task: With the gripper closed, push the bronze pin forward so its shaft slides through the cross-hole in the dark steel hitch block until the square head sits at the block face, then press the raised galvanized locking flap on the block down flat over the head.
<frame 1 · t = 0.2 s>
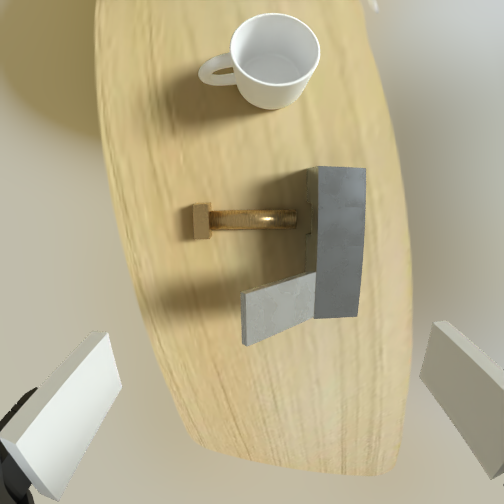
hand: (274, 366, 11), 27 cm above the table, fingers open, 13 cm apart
lynch pin: (204, 219, 37), on the table
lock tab: (281, 306, 29), point 10 cm above the table, hinge at 40.0°
hitch block: (326, 234, 37), on the table
mug: (255, 82, 33), on the table
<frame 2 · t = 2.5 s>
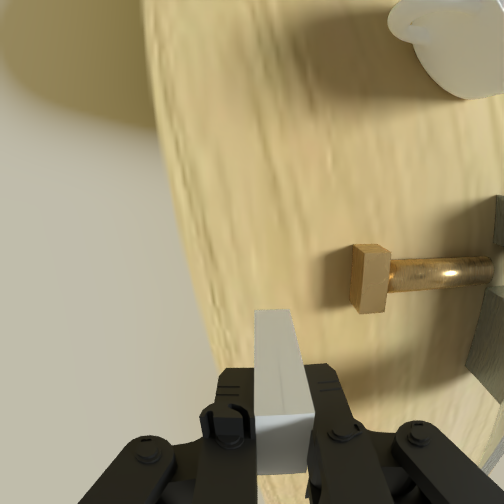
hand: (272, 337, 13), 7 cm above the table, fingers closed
lynch pin: (363, 272, 20), on the table
hitch block: (502, 285, 20), on the table
mug: (432, 51, 16), on the table
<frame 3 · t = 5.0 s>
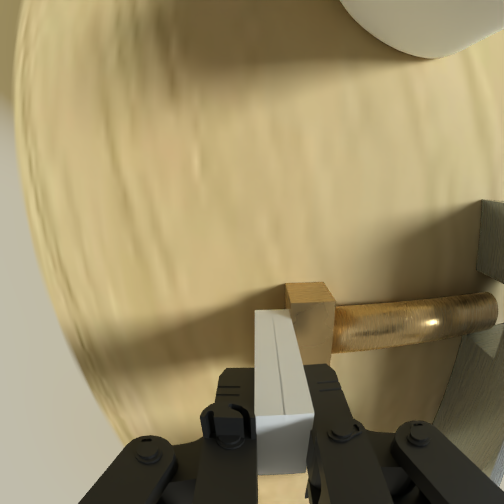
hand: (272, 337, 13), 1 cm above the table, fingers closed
lynch pin: (303, 321, 15), on the table, touching gripper
hitch block: (489, 326, 15), on the table
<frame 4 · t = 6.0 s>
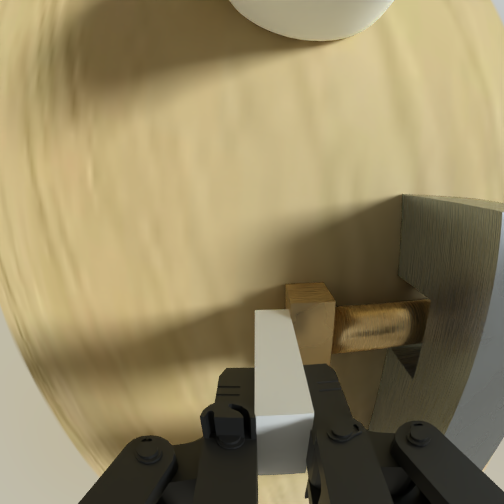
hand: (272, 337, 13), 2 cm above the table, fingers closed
lynch pin: (303, 321, 15), on the table, touching gripper
hitch block: (425, 339, 15), on the table
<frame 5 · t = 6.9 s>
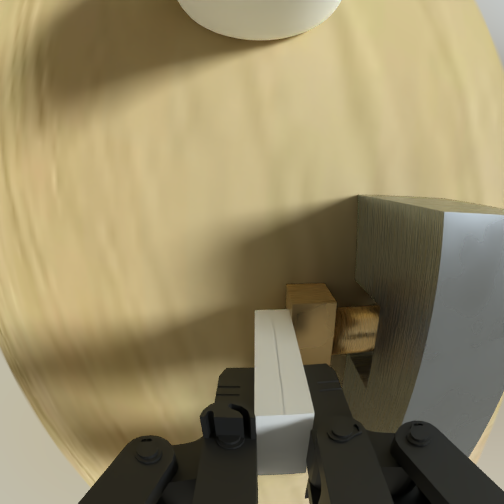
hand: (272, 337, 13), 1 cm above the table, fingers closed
lynch pin: (303, 322, 15), on the table, touching gripper
hitch block: (389, 346, 15), on the table
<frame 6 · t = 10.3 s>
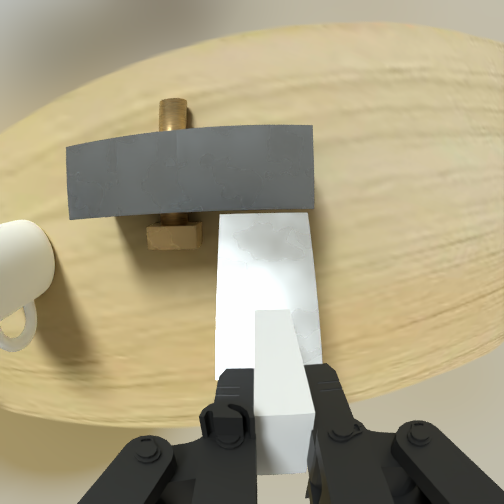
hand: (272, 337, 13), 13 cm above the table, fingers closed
lynch pin: (178, 232, 25), on the table
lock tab: (266, 291, 16), point 10 cm above the table, hinge at 39.9°, touching gripper
hitch block: (198, 173, 24), on the table
mug: (34, 273, 27), on the table
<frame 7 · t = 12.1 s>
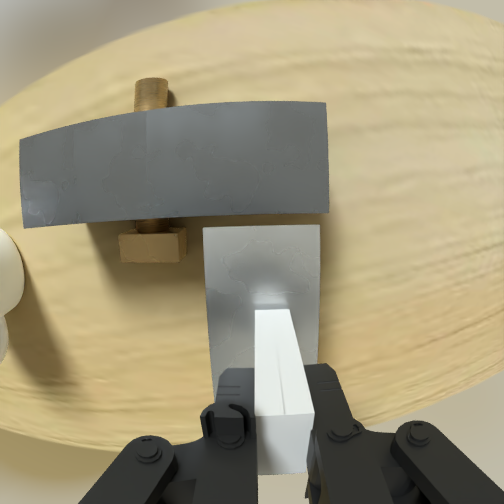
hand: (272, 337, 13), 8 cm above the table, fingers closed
lynch pin: (158, 240, 21), on the table
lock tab: (263, 325, 14), point 8 cm above the table, hinge at 7.2°, touching gripper
hitch block: (181, 168, 20), on the table
mug: (5, 285, 22), on the table
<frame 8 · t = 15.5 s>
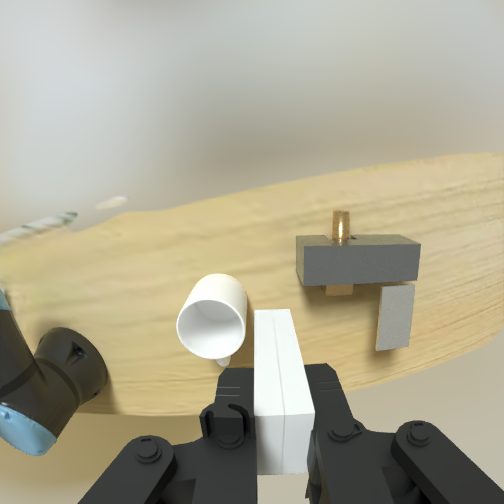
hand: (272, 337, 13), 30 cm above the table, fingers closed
lynch pin: (335, 284, 45), on the table
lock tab: (395, 317, 38), point 8 cm above the table, hinge at 7.1°
hitch block: (349, 251, 43), on the table
mug: (221, 309, 46), on the table
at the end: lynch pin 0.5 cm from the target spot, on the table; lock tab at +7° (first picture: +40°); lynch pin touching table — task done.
